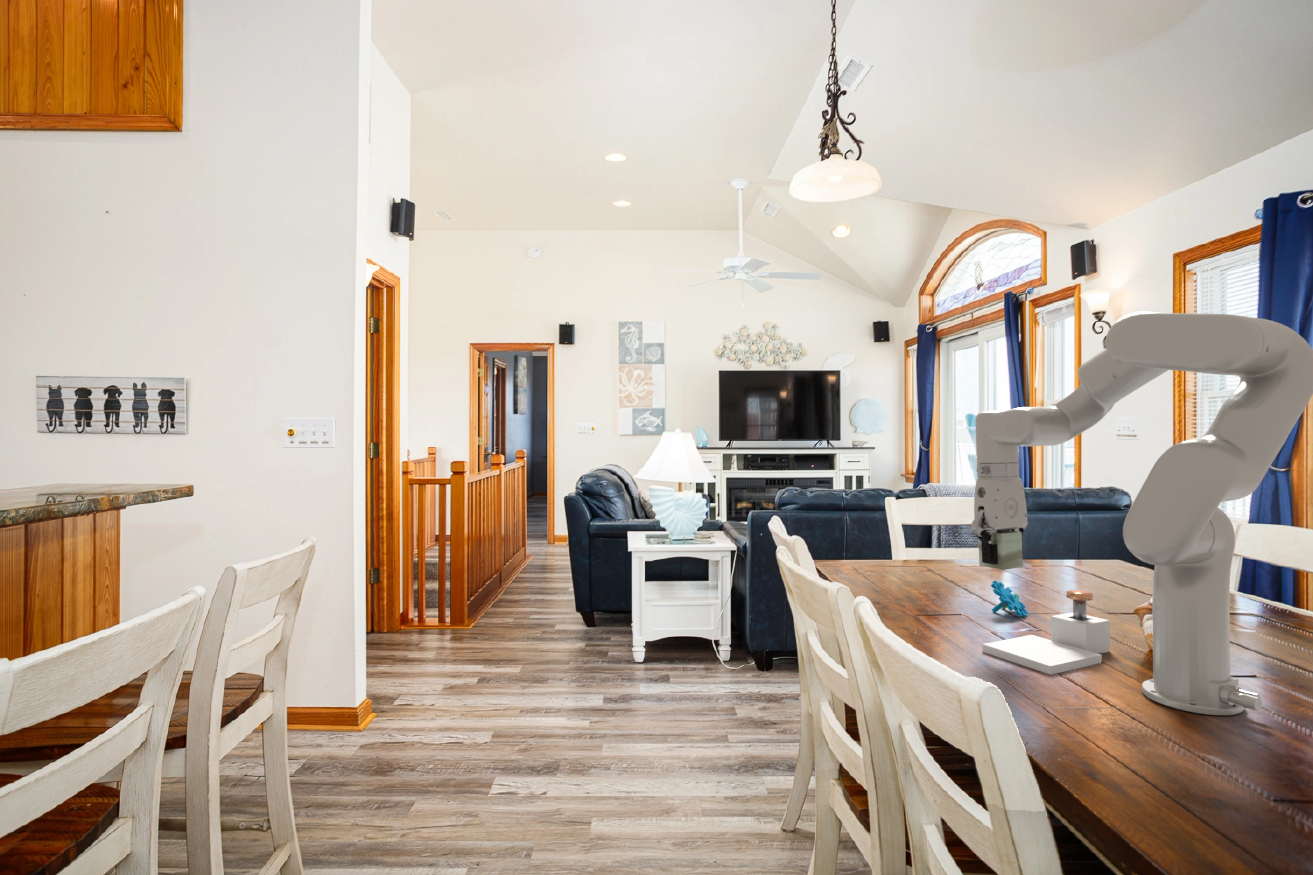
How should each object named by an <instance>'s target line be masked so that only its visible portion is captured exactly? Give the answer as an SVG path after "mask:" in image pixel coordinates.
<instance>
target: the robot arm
mask: <svg viewBox="0 0 1313 875" xmlns="http://www.w3.org/2000/svg"><path fill="white" fill-rule="evenodd" d="M1104 343H1105V348H1104V349H1103V350H1101V351H1100V352H1098V353H1096V354H1095V355H1094V356H1092V357H1090V358H1089V359H1088V360H1086V361H1084V362H1083V363H1082V364H1081V365H1080V366H1079V368H1078V371H1077V376H1078V381H1079V382H1080V384H1079V386H1078V387H1077V388H1076V389H1075V390H1074V391H1073V392H1071V393H1070V394H1069V395H1067V396H1066V397H1065V398H1063V399H1061V400H1060V401H1058V402H1056V403H1054V405H1052V406H1050V407H1049V406H1022V407H1021V406H1020V407H1016V408H1011V409H1007V410H988V411H987V410H986V411H985V410H984V411H981V412H979V413H977V415H976V416H975V423H974V424H975V441H976V442H975V448H976V449H975V450H976V476H977V479H976V482H975V486H974V487H975V489H974V499H973V500H974V501H973V503H974V504H973V514H974V518H973V521H972V522H971V524H970V529H971V530H972V532H973V533H974V534H975V536H976V537H977V538H978V543H979V542H980V543H982V562H983V563H988V564H994V565H995V564H998V555H997V544H994V543H995V539H996V533H997V530H1004V529H1007V530H1008V531H1017V532H1021V533H1022V534H1024V531H1025V529H1026V528H1027V526H1028V525H1029V521H1028V509H1027V501H1026V500H1027V499H1026V493H1025V488H1024V484H1023V481H1022V478H1020V470H1019V468H1020V467H1019V466H1020V465H1019V447H1040V446H1041V447H1043V446H1046V447H1047V446H1058V445H1061V444H1064V443H1066V442H1068V441H1071V440H1072V439H1074V438H1075V437H1077V436H1079V435H1080V434H1082V433H1084V432H1086V431H1087V430H1089V429H1090V428H1092V427H1094V426H1095V425H1096V424H1098V423H1099V422H1101V421H1102V420H1103V418H1104V417H1105V416H1106V415H1107V414H1108V413H1109V412H1110V411H1111V410H1112V408H1113V407H1114V406H1115V404H1117V403H1118V402H1119V401H1120V400H1122V399H1124V398H1125V397H1127V396H1129V395H1131V394H1132V393H1133V392H1135V391H1137V390H1138V389H1140V388H1141V387H1143V386H1144V385H1146V384H1148V383H1149V382H1151V381H1153V380H1155V379H1156V378H1158V377H1160V376H1162V375H1163V374H1164V373H1166V372H1168V371H1178V372H1179V371H1180V372H1191V373H1192V372H1193V373H1200V374H1201V373H1202V374H1209V375H1221V376H1222V375H1223V376H1236V377H1237V376H1238V377H1239V378H1240V381H1239V384H1238V385H1237V387H1236V388H1235V389H1234V390H1233V392H1232V393H1231V394H1230V395H1229V397H1228V398H1227V399H1226V400H1225V401H1224V402H1223V403H1222V405H1221V407H1220V408H1219V410H1218V412H1217V414H1216V416H1215V418H1214V420H1213V421H1212V422H1211V425H1210V427H1209V428H1208V430H1207V431H1206V433H1205V434H1204V435H1203V436H1202V437H1201V438H1191V439H1187V440H1183V441H1179V442H1177V443H1176V444H1174V445H1172V446H1171V447H1169V448H1167V449H1166V450H1165V451H1164V452H1163V453H1162V454H1161V455H1160V457H1158V459H1157V460H1156V461H1155V463H1154V465H1153V466H1152V468H1151V470H1150V471H1149V473H1148V476H1147V477H1146V479H1145V481H1144V482H1143V484H1142V486H1141V488H1140V490H1139V492H1138V493H1137V495H1136V496H1135V499H1134V501H1133V503H1132V505H1131V506H1130V508H1129V510H1128V511H1127V514H1126V517H1125V519H1124V522H1123V525H1122V537H1123V541H1124V545H1125V546H1126V548H1127V549H1128V551H1129V552H1130V553H1131V554H1132V555H1133V557H1135V558H1137V559H1138V560H1139V561H1141V562H1143V563H1147V564H1149V565H1153V566H1154V569H1153V574H1152V586H1151V587H1152V588H1151V589H1152V598H1151V600H1152V609H1151V610H1152V678H1151V679H1147V680H1144V681H1143V682H1142V683H1141V685H1140V686H1141V692H1142V694H1143V695H1145V697H1147V698H1148V699H1150V700H1152V701H1154V702H1155V703H1157V704H1160V705H1164V706H1167V707H1170V708H1173V709H1176V710H1181V711H1185V712H1188V713H1194V714H1201V715H1202V714H1203V715H1210V716H1232V715H1238V714H1241V713H1242V712H1244V711H1245V710H1244V708H1246V709H1248V710H1252V711H1256V712H1259V711H1260V710H1261V709H1262V706H1263V702H1262V699H1261V696H1260V694H1259V693H1256V692H1251V691H1249V690H1245V689H1242V688H1241V687H1240V686H1239V678H1237V677H1233V676H1231V640H1230V639H1231V636H1230V633H1231V631H1230V630H1231V628H1230V624H1231V623H1230V622H1231V621H1230V600H1231V598H1230V595H1231V594H1230V593H1231V592H1230V591H1231V590H1230V583H1231V582H1230V580H1231V570H1232V569H1231V568H1232V562H1233V557H1234V553H1235V552H1234V551H1235V545H1236V544H1235V543H1236V542H1235V541H1236V534H1235V528H1234V525H1233V523H1232V521H1231V519H1230V517H1228V515H1227V513H1225V512H1224V510H1222V509H1221V508H1219V506H1220V505H1221V503H1223V502H1230V501H1235V500H1236V501H1237V500H1240V499H1242V498H1246V497H1248V496H1249V495H1251V494H1253V493H1254V492H1255V491H1256V490H1257V489H1258V487H1259V485H1260V484H1261V482H1262V480H1264V477H1265V476H1266V474H1267V472H1268V470H1269V469H1270V467H1271V466H1272V464H1273V462H1274V460H1275V459H1276V457H1277V456H1278V454H1279V453H1280V451H1281V449H1282V448H1283V446H1284V445H1285V443H1286V441H1287V439H1288V438H1289V435H1290V433H1291V432H1292V431H1293V428H1294V427H1295V425H1296V424H1297V422H1298V421H1299V419H1300V418H1301V415H1302V414H1303V413H1304V411H1305V409H1306V408H1307V406H1308V404H1309V402H1310V400H1311V399H1312V397H1313V348H1312V346H1311V345H1310V344H1309V343H1308V342H1307V340H1306V339H1305V338H1304V337H1302V336H1301V335H1300V334H1299V333H1298V332H1297V331H1295V330H1294V329H1292V328H1291V327H1289V326H1287V325H1285V324H1282V323H1280V322H1276V321H1275V320H1270V319H1266V318H1259V317H1250V316H1244V315H1237V314H1226V313H1223V314H1222V313H1187V312H1186V313H1185V312H1183V313H1181V312H1180V313H1179V312H1175V313H1174V312H1158V311H1156V312H1154V311H1137V312H1132V313H1129V314H1127V315H1124V316H1123V317H1121V318H1119V319H1118V320H1117V321H1115V322H1114V323H1113V324H1112V325H1111V327H1110V328H1109V329H1108V332H1107V334H1106V336H1105V342H1104ZM987 531H990V535H988V534H987Z"/></svg>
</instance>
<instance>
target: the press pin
mask: <svg viewBox="0 0 1313 875" xmlns="http://www.w3.org/2000/svg"><path fill="white" fill-rule="evenodd" d="M1065 592H1066V593H1065V594H1066V598H1068V599H1070V600H1072V601H1073V602H1072V607H1073V608H1072V612H1073V619H1076V620H1080V621H1085V620H1086V615H1087V602H1088V601H1093V600H1094V598H1093V597H1094V593H1092V592H1090V591H1086V590H1078V589H1077V590H1075V589H1070V590H1066V591H1065Z"/></svg>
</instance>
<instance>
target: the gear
mask: <svg viewBox="0 0 1313 875" xmlns="http://www.w3.org/2000/svg"><path fill="white" fill-rule="evenodd" d="M990 587H991V588H992V589H993V590H992V591H993V593H994V594H995V595H996V596H998V600H999V601H1000V602H999V603H998V604H996V606H995V607H993V608H992V609H991V612H992V613H995V614H996V613H997V612H998V611H1000V610H1001V609H1002V610H1004V611H1005V610H1006V609H1008V610H1009V611H1010V612H1012V611H1013V610H1014V614H1015V616H1018V617H1021V618H1026V617H1027V616H1028V614H1029V611H1028V610H1027V609H1026V605H1025V603H1023V602H1021V601H1020V600H1021V599H1020V595H1019V594H1018V593H1015V594H1013V593H1012V592H1013V591H1012V589H1011V588H1010V587H1009V586H1008V587H1006V588H1005V584H1004V583H1003V582H1001V581H997V580H995V579H994V580H993V581H992V582H991V584H990Z"/></svg>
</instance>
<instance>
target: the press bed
mask: <svg viewBox="0 0 1313 875" xmlns="http://www.w3.org/2000/svg"><path fill="white" fill-rule="evenodd" d="M1110 627H1111V626H1110V620H1109V619H1106V618H1100V617H1096V616H1093V615H1090V614H1089V615H1088V614H1086V620H1085V621H1080V620H1076V619H1073V611H1072V612H1068V613H1067V612H1066V613H1060V614H1055V615H1051V616H1050V634H1051V638H1050V639H1048V638H1045V637H1041V636H1038V635H1034V634H1029V635H1027V634H1026V635H1023V636H1018V637H1012V638H1007V639H1003V640H1002V639H1001V640H997V641H996V640H995V641H992V642H986V643H982V653H984V654H987V655H991V656H994V657H996V658H1000V659H1003V660H1006V661H1007V662H1008V661H1010V662H1012V663H1015V664H1018V665H1021V666H1024V667H1026V668H1030V669H1033V670H1036V671H1038V672H1041V673H1045V674H1047V675H1055V674H1060V673H1063V672H1068V671H1073V670H1078V669H1082V668H1085V667H1090V666H1094V664H1095V665H1099V664H1102V663H1101V662H1103V660H1102V659H1103V658H1102V656H1103V655H1102V654H1104V653H1109V652H1110V651H1111V650H1110V649H1111V648H1110V646H1111V644H1110V642H1111V640H1110V638H1111V635H1110V634H1111V633H1110V630H1111V629H1110ZM1099 653H1100V654H1099ZM1098 663H1099V664H1098ZM1077 668H1078V669H1077ZM1072 669H1073V670H1072Z"/></svg>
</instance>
